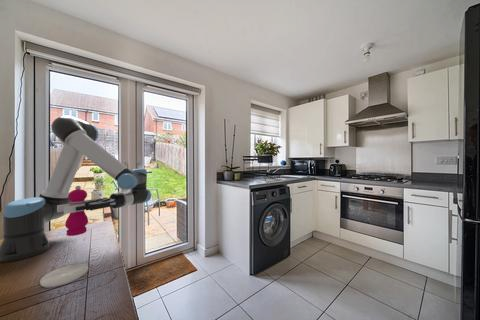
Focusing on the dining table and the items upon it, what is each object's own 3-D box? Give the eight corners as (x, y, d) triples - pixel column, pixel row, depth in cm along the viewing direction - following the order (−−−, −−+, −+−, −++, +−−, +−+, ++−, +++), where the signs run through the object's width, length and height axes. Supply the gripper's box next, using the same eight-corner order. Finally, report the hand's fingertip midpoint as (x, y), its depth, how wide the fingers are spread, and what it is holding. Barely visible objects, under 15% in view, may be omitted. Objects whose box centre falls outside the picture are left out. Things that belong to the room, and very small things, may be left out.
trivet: (33, 281, 60) (33, 278, 60) (78, 263, 71) (78, 260, 71) (49, 292, 55) (49, 288, 55) (95, 271, 66) (95, 268, 66)
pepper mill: (68, 238, 71) (69, 187, 72) (62, 234, 75) (63, 185, 76) (90, 232, 77) (92, 185, 78) (84, 229, 81) (85, 184, 82)
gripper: (132, 209, 89) (71, 222, 68) (110, 205, 96) (50, 216, 76) (132, 193, 89) (72, 202, 68) (110, 191, 97) (51, 198, 76)
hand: (61, 209), depth 72 cm, fingers closed on pepper mill, 5 cm apart
